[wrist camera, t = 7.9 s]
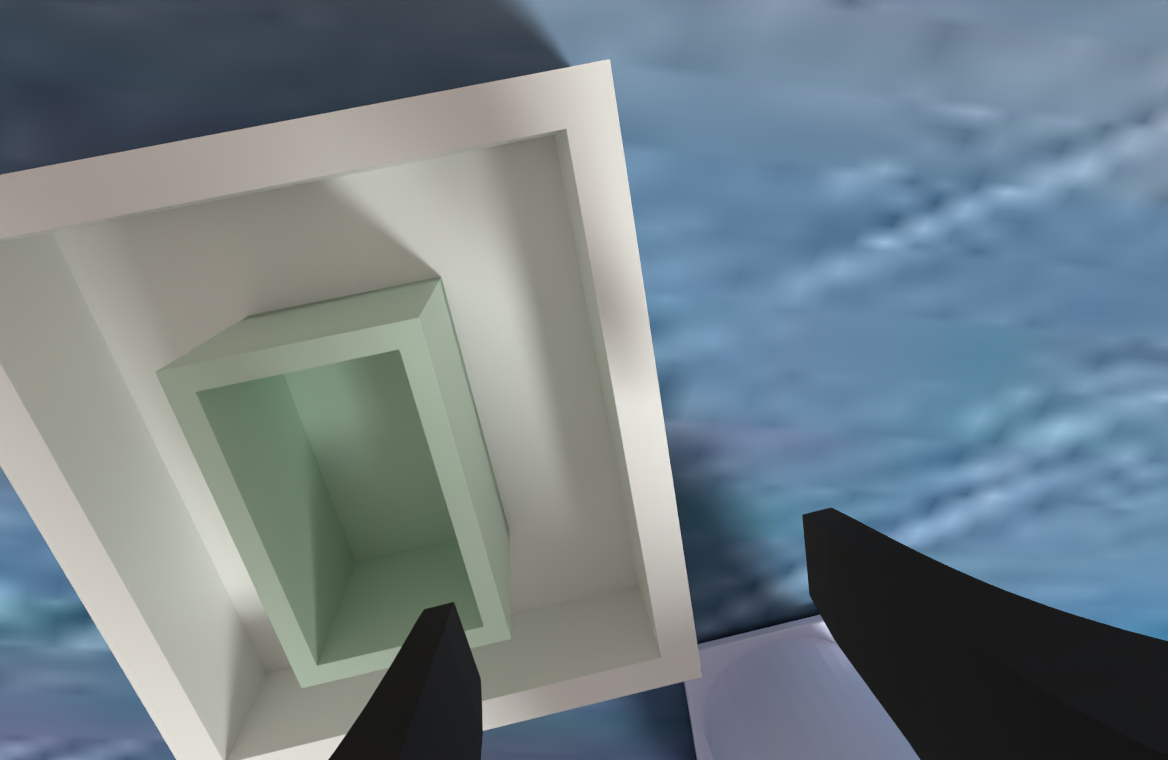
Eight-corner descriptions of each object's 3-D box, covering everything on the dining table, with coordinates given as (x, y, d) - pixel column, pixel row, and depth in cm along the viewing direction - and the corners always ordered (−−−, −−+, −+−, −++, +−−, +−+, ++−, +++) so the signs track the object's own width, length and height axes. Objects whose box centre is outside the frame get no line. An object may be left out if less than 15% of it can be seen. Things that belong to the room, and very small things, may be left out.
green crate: (509, 532, 21) (511, 638, 16) (347, 569, 21) (301, 688, 16) (441, 276, 18) (418, 317, 13) (248, 315, 17) (154, 372, 13)
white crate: (667, 585, 24) (702, 676, 20) (256, 683, 23) (200, 800, 19) (584, 84, 17) (609, 59, 13) (11, 193, 17) (-156, 204, 12)
